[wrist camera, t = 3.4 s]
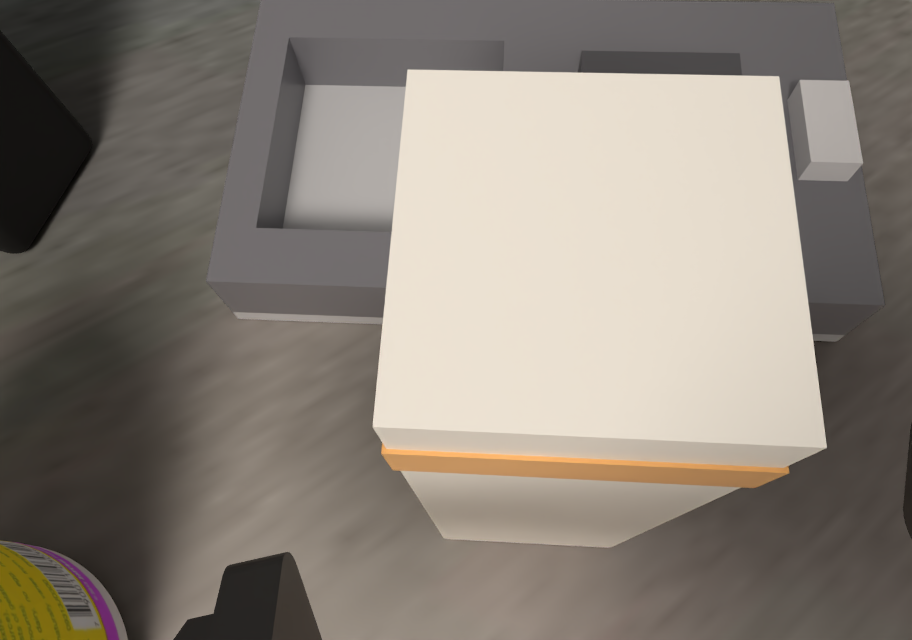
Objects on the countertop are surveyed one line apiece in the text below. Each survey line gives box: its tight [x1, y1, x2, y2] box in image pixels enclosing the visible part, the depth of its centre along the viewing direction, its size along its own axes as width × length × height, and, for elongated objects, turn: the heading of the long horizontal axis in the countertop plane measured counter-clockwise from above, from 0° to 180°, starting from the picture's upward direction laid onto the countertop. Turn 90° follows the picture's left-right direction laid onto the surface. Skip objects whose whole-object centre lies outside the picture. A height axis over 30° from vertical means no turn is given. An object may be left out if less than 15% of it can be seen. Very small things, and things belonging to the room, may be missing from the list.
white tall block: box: [373, 70, 827, 548], centre depth 13 cm, size 4×4×12 cm
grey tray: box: [206, 0, 885, 342], centre depth 20 cm, size 16×9×3 cm, turn 87°
